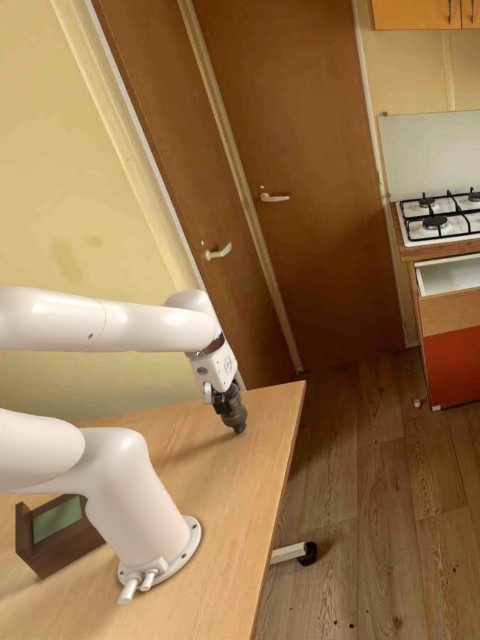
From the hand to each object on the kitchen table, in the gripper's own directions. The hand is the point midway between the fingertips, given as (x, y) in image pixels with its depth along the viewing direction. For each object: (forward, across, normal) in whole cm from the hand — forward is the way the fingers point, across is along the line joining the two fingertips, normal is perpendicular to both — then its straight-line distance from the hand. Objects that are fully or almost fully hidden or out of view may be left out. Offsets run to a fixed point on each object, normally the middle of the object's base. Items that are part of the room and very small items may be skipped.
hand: (229, 401), depth 100 cm
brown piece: (+10, -19, +25) cm, 33 cm away
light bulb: (+10, 0, 0) cm, 10 cm away
